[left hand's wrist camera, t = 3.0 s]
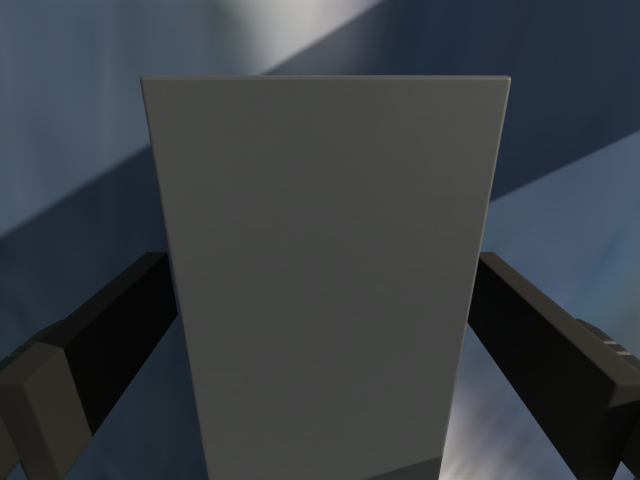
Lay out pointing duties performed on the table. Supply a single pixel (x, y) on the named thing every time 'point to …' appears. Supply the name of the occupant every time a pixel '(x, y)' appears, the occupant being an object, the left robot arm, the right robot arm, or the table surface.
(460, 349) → the beam
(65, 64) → the table surface
